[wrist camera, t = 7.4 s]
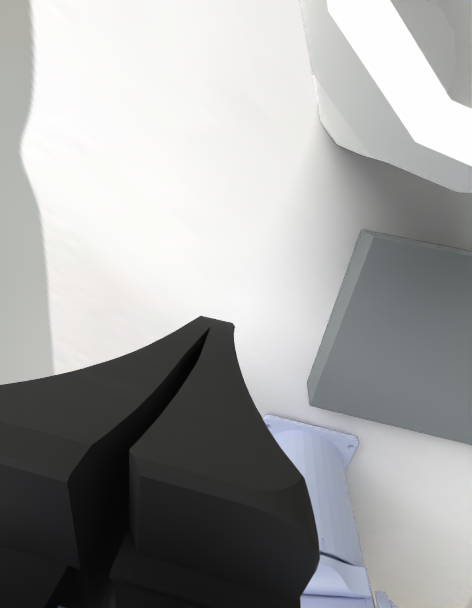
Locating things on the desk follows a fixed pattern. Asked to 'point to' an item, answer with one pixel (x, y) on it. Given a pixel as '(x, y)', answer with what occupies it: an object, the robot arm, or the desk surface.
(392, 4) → the foam cup
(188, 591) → the robot arm
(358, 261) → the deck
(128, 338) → the desk surface
